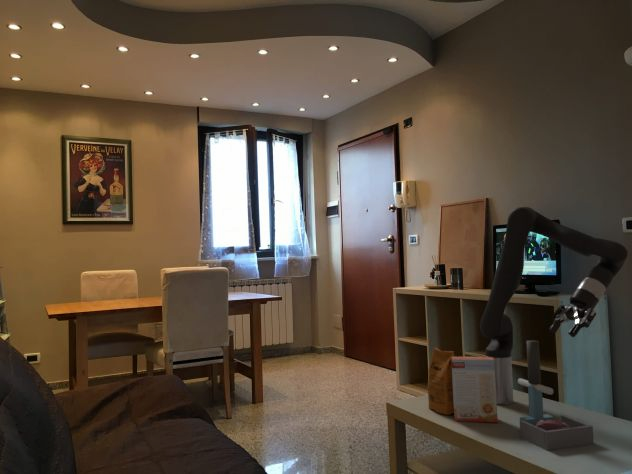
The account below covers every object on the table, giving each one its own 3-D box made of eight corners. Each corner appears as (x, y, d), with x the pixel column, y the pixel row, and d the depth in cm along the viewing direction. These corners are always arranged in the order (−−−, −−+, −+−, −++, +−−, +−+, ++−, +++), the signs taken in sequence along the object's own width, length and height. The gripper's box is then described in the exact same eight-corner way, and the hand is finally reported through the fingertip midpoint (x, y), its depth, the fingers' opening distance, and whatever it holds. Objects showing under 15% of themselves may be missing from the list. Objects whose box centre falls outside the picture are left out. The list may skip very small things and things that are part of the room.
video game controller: (535, 442, 151) (534, 424, 149) (536, 431, 155) (534, 413, 152) (572, 447, 146) (571, 428, 144) (572, 435, 150) (571, 417, 148)
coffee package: (446, 404, 188) (443, 345, 190) (467, 413, 177) (465, 350, 178) (424, 407, 185) (421, 347, 186) (444, 416, 173) (442, 353, 174)
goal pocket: (520, 437, 151) (519, 420, 151) (564, 431, 155) (563, 414, 155) (547, 450, 140) (546, 432, 140) (593, 443, 144) (592, 426, 144)
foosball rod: (509, 425, 161) (505, 339, 163) (535, 421, 164) (531, 337, 165) (538, 439, 148) (534, 345, 149) (567, 435, 150) (562, 343, 152)
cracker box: (496, 418, 170) (493, 356, 171) (498, 423, 164) (495, 359, 166) (454, 415, 174) (451, 355, 175) (454, 421, 168) (451, 358, 169)
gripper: (564, 286, 170) (538, 323, 167) (597, 288, 156) (569, 329, 153) (578, 300, 171) (553, 337, 168) (612, 303, 157) (585, 344, 154)
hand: (561, 333), depth 161 cm, fingers open, 8 cm apart
